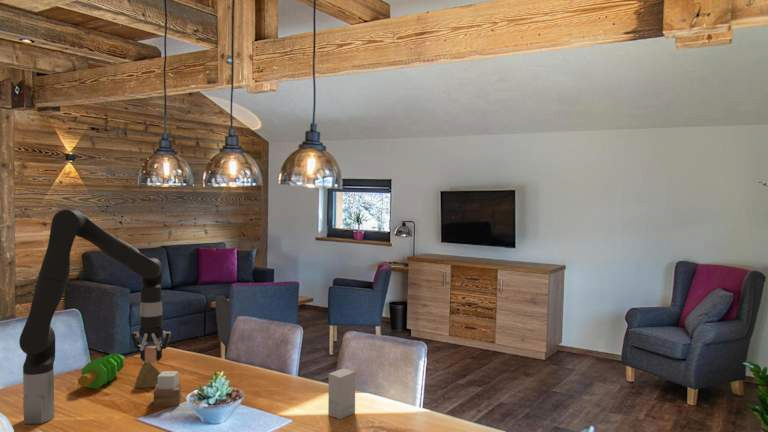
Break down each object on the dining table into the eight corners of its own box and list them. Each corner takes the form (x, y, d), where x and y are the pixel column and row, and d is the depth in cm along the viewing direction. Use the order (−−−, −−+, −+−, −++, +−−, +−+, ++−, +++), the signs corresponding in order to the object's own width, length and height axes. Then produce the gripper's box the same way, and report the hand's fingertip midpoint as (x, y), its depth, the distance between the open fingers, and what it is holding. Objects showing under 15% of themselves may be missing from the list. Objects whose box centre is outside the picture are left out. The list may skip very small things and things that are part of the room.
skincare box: (343, 408, 223) (343, 367, 223) (356, 413, 219) (356, 371, 218) (327, 415, 217) (327, 372, 216) (340, 420, 213) (340, 376, 212)
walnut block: (179, 405, 226) (179, 389, 225) (153, 407, 223) (153, 391, 223) (181, 397, 234) (180, 382, 234) (156, 399, 232) (156, 384, 232)
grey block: (173, 389, 226) (173, 376, 226) (157, 389, 226) (157, 376, 225) (178, 384, 232) (178, 371, 232) (162, 384, 232) (162, 371, 231)
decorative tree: (76, 362, 236) (117, 340, 266) (67, 388, 238) (108, 363, 267) (102, 374, 235) (140, 350, 265) (92, 400, 237) (131, 373, 267)
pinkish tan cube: (155, 363, 216) (155, 349, 215) (142, 363, 215) (142, 349, 215) (159, 359, 220) (159, 345, 220) (146, 359, 220) (146, 345, 220)
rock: (172, 377, 250) (153, 371, 254) (164, 365, 244) (145, 359, 248) (155, 399, 243) (136, 392, 247) (146, 387, 237) (128, 380, 241)
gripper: (127, 315, 213) (127, 363, 214) (168, 315, 214) (168, 363, 215) (134, 311, 220) (134, 357, 221) (174, 311, 221) (174, 357, 222)
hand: (151, 360), depth 218 cm, fingers closed on pinkish tan cube, 4 cm apart
